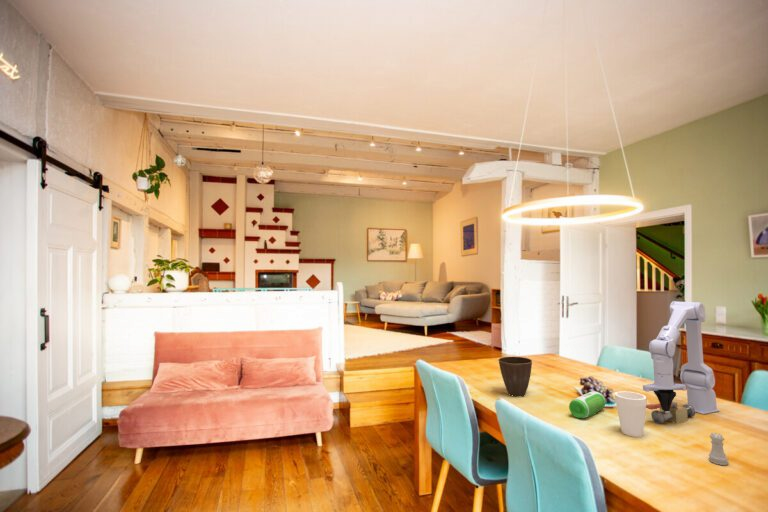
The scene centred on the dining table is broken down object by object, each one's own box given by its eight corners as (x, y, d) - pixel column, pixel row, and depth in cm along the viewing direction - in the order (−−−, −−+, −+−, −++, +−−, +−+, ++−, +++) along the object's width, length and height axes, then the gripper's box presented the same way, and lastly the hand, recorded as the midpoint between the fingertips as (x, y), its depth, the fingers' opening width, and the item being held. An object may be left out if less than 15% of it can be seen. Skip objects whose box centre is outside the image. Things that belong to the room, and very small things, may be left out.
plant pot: (521, 402, 169) (519, 365, 170) (493, 394, 181) (491, 359, 182) (540, 395, 178) (538, 360, 179) (512, 387, 190) (511, 355, 191)
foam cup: (633, 440, 128) (631, 401, 129) (610, 429, 137) (608, 393, 138) (655, 436, 131) (653, 397, 131) (631, 426, 140) (629, 390, 140)
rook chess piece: (708, 457, 116) (706, 430, 116) (728, 461, 113) (726, 433, 113) (708, 463, 112) (706, 435, 113) (729, 467, 109) (727, 438, 110)
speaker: (587, 422, 145) (586, 401, 146) (568, 416, 151) (567, 397, 151) (607, 411, 156) (606, 392, 156) (589, 406, 162) (588, 388, 162)
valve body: (681, 413, 150) (680, 401, 151) (698, 419, 145) (697, 406, 145) (649, 420, 145) (648, 407, 145) (665, 425, 139) (664, 412, 140)
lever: (672, 404, 147) (672, 401, 147) (679, 406, 144) (679, 403, 144) (644, 407, 144) (644, 404, 145) (651, 409, 142) (651, 406, 142)
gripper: (674, 369, 145) (676, 406, 144) (636, 370, 145) (638, 407, 144) (689, 374, 138) (692, 412, 137) (649, 375, 138) (651, 414, 137)
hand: (665, 410), depth 140 cm, fingers closed
